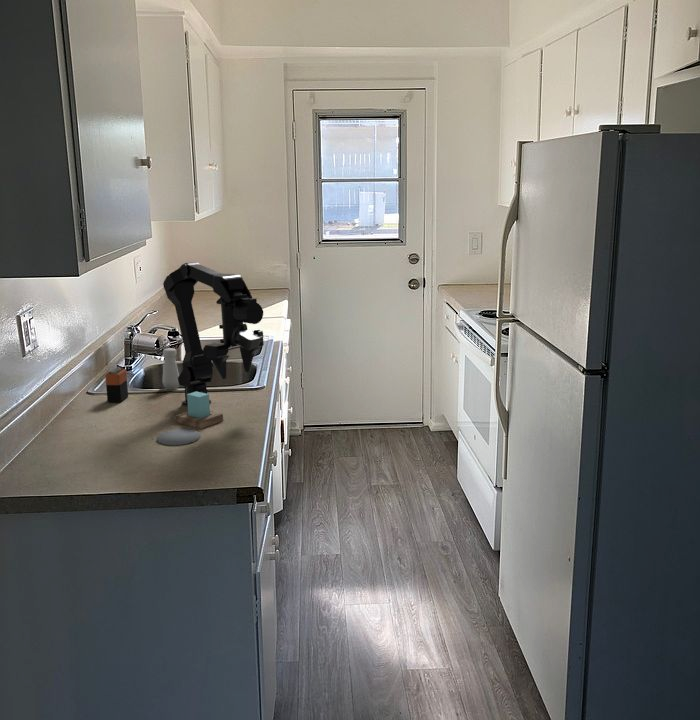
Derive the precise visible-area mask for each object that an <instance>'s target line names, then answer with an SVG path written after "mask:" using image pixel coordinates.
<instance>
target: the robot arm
mask: <svg viewBox="0 0 700 720" xmlns="http://www.w3.org/2000/svg"><path fill="white" fill-rule="evenodd" d="M165 277H166V278H165V279H164V281H163V284H162V286H163V289H164V292H165V294H166V298H167V299H168V300H169V301H170V302H171V304H173V306H174V307H175V313H176V318H177V321H178V325H179V329H180V335H181V338H182V343H183V347H184V348H183V349H184V357H183V360H182V371H181V373H179V377H178V382H179V386H181V387H182V386H183V387H184V398H185V400H184V401H181V405H187V406H188V402H187V394H190V393H193V392H196V391H197V392H201V393H206V394H208V388H207V383H211V382H212V378H213V372H214V366H215V368H216V369H217V371H218V373H219V375H220V376H221V378H222V379H223V380H227V371H228V370H227V361H228V359H229V357H230V355H228V354H229V351H231V350H234V349H235V350H236V349H239V353H240V355H241V360H242V364H243V368H244V371H245V372H246V373H249V372H250V371H251V370H250V369H251V367H252V363H253V359H254V356H255V354H256V353H257V351H259V350H260V349H261V347H262V346H263V347H264V344H265V343H264V332H263V330H262V329H260V328H257V329H254V330H249V329H248V325H247V324H252V325H256V324H259V323H260V322H261V321H262V320H263V316H264V309H263V306H261V305H260V303H257V298H255V297H253V296H252V293H251V291H250V289H249V288H248V286H247V284H246V283H245V280H244V278H243V277H242V276H241V275H240V274H234V273H221V272H219V271H216V270H215V269H211V268H209V267H207V266H205V265H202V264H200V263H199V262H196V261H195V262H194V261H193V262H192V261H191V262H184V263H183V264H181V265H180V266H179V268H177V269H175V270H174V271H172V272H171V273H169V274H168V275H167V276H165ZM198 282H199V283H201V284H204V285H206V286H208V287H211V288H212V291H213V293H215V294H216V295H217V296H219V298H218V299H217V300H216V304H218V305H220V309H221V310H220V311H221V324H219V325H218V326H219V329H220V330H221V329H222V337H223V338H221V339H220V340H219V342H220V343H216V342H213V343H209V344H205V345H204V346H203V348H202V343H201V340H200V334H199V330H198V325H197V322H196V318H195V317H196V316H195V311H194V308H193V304H192V301H193V298H194V295H195V286H196V285H197V284H198ZM209 403H212V400H210V399H209Z"/></svg>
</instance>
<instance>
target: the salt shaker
mask: <svg viewBox="0 0 700 720" xmlns="http://www.w3.org/2000/svg"><path fill="white" fill-rule="evenodd" d="M162 355H163V357H164V361H163V370H162V371H163V372H162V378H161V382H162V384H163V386H164V388H165V389H166V390H174V389H178V388H179V386H180V385H179V382H178V377H179V375H180V373H179V370H178V365H177V360H176V357H175V356H177V350H176V349H175V348H172V347H169V348H164V349H163V350H162Z"/></svg>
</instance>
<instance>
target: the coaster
mask: <svg viewBox="0 0 700 720" xmlns="http://www.w3.org/2000/svg"><path fill="white" fill-rule="evenodd" d="M199 438H200V439H201V433H200V432H199V431H197V430H194V429H187V428H186V429H183V428H182V429H172V430H166V431H165V432H161V433H160V434H159V435H158V436H157V437H156V441H157V442H158V443H159V444H161V445H165V446H183V444H185V445H189V444H188V443H190V444H192V443H191V442H193V443H195V442H197V441H198V439H199ZM200 439H199V440H200ZM196 440H197V441H196ZM194 441H195V442H194Z"/></svg>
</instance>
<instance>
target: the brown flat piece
mask: <svg viewBox="0 0 700 720" xmlns="http://www.w3.org/2000/svg"><path fill="white" fill-rule="evenodd" d="M220 421H221V422H223V421H224V414H223V413H220V412H217V411H212V410H210V416H207V417H204V418H196V417H192V416H188V410H187V411H184V412H182V413H179V414H176V415H175V423H178V424H181V425H185V426H188V425H189V427H192V426H193V427H192V428H196V427H198V428H197V429H200V428H201V429H203V427H204V428H207V427H210V426H212V425H215V424H217V423H221V422H220ZM209 425H210V426H209ZM206 426H207V427H206Z"/></svg>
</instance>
